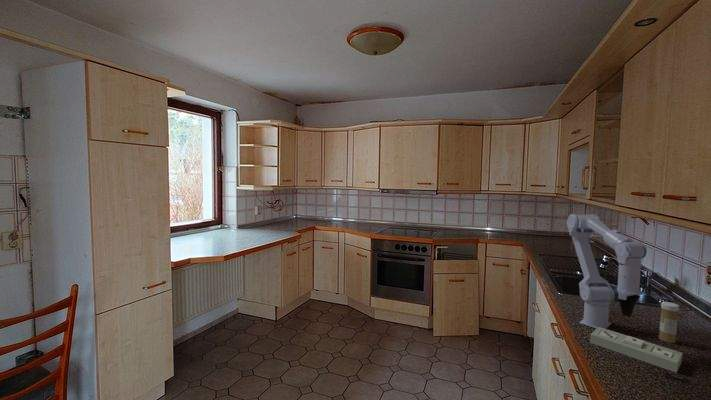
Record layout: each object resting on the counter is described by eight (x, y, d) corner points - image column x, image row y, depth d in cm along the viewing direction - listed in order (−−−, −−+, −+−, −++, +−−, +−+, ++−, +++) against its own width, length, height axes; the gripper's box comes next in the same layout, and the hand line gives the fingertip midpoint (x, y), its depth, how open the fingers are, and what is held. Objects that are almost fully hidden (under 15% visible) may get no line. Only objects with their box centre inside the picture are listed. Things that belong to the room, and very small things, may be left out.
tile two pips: (654, 352, 106) (654, 346, 106) (672, 358, 103) (673, 352, 103) (651, 357, 104) (651, 350, 104) (670, 364, 100) (670, 357, 100)
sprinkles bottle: (658, 335, 120) (661, 300, 118) (675, 340, 116) (679, 303, 115) (658, 340, 116) (661, 303, 115) (676, 345, 113) (679, 307, 112)
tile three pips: (602, 335, 117) (602, 329, 117) (617, 340, 114) (617, 334, 114) (598, 339, 115) (598, 333, 114) (613, 344, 111) (614, 338, 111)
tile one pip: (627, 341, 112) (627, 334, 112) (643, 346, 108) (644, 340, 108) (623, 345, 109) (624, 339, 109) (640, 351, 106) (641, 344, 105)
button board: (598, 334, 120) (598, 326, 120) (681, 361, 103) (682, 352, 103) (589, 342, 115) (590, 334, 115) (676, 372, 98) (677, 363, 97)
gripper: (638, 283, 104) (636, 325, 105) (649, 275, 113) (646, 313, 114) (611, 278, 110) (609, 317, 111) (623, 270, 119) (621, 307, 120)
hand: (626, 315), depth 113 cm, fingers closed
